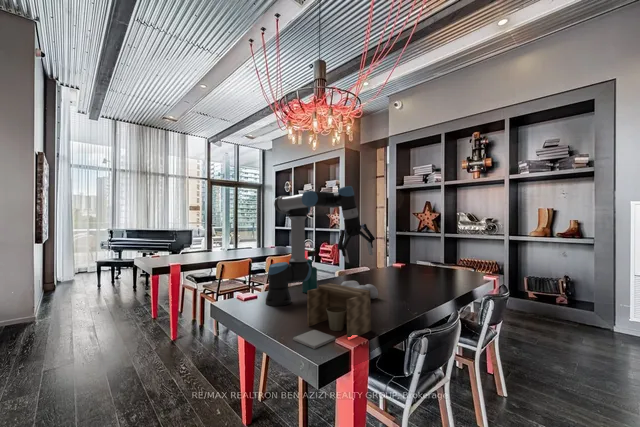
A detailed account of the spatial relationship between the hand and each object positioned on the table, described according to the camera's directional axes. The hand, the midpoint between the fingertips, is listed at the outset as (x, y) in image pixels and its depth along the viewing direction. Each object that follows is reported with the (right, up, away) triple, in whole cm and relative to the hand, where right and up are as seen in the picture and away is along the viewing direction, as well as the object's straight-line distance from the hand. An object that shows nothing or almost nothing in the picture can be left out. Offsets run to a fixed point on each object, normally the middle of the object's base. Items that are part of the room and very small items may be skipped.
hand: (359, 258), depth 143 cm
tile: (-22, -28, -28) cm, 46 cm away
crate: (-12, -29, -16) cm, 35 cm away
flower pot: (-12, -29, -16) cm, 35 cm away
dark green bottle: (-27, -32, +54) cm, 69 cm away
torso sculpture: (+4, -31, +43) cm, 53 cm away
